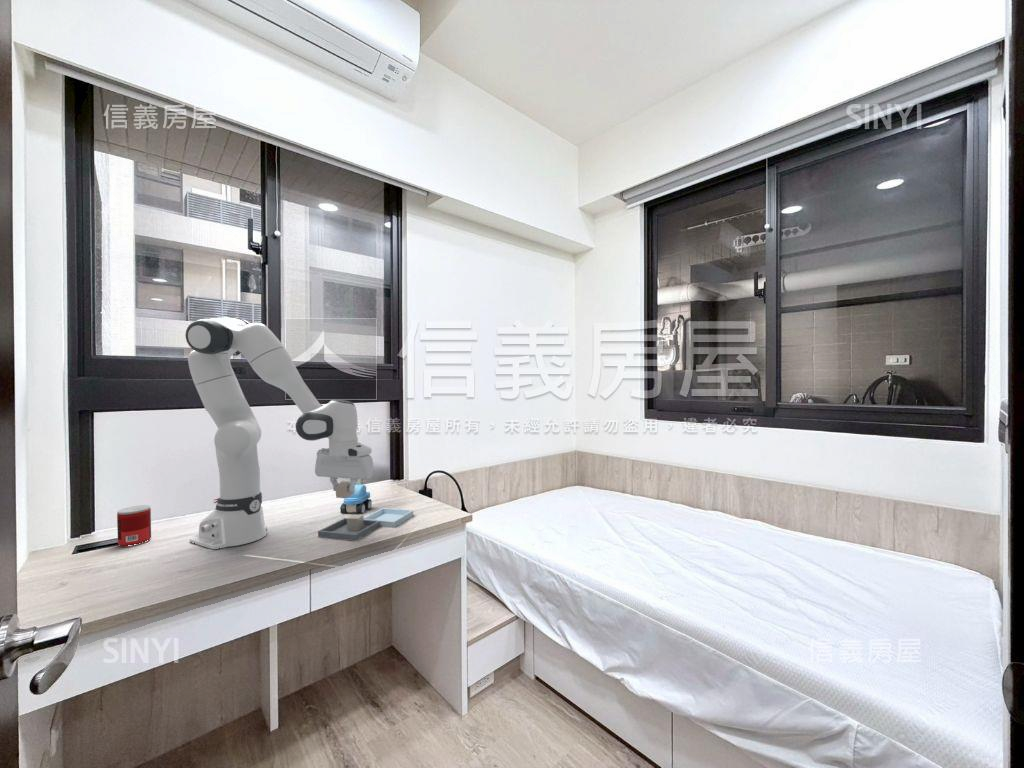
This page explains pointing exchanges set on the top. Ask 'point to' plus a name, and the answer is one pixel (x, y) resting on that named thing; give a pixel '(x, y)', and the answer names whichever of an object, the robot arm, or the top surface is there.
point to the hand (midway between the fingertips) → (343, 491)
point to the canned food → (134, 525)
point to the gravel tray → (341, 532)
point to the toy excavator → (357, 500)
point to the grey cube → (343, 490)
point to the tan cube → (355, 522)
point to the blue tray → (390, 516)
